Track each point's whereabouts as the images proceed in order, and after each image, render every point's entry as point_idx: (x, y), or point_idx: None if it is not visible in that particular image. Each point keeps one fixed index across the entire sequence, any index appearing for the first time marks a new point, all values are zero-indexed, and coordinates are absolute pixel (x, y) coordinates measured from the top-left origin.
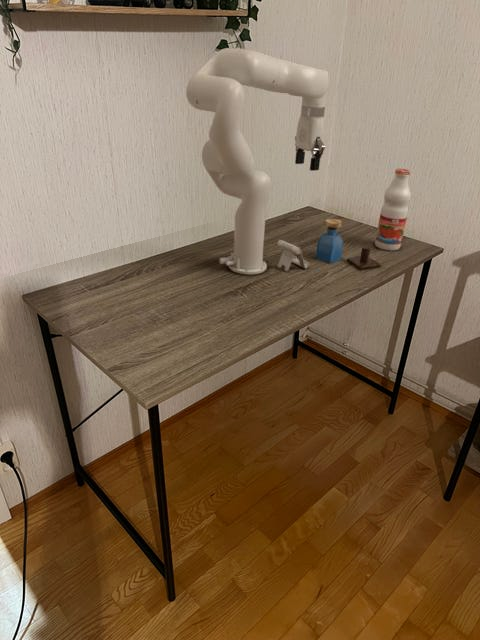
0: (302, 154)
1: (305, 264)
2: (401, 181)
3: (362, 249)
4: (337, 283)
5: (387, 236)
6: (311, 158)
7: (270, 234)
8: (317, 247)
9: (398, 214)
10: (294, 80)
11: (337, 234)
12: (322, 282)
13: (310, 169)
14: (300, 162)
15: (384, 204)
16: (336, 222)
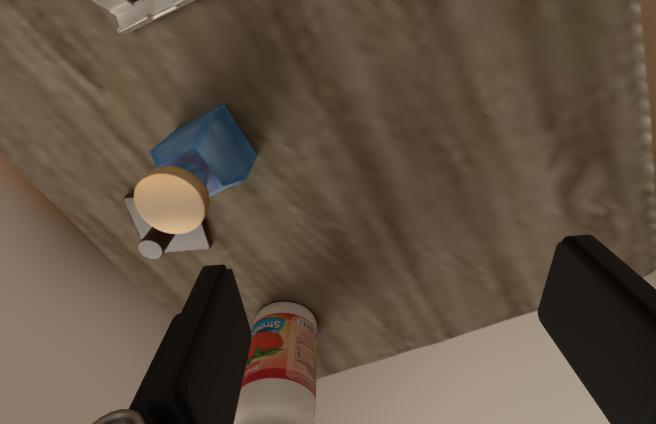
0: (616, 391)
1: (125, 21)
2: None
3: (149, 236)
4: (12, 79)
5: (254, 337)
6: (153, 391)
7: (489, 26)
8: (212, 114)
9: None
10: None
11: None
12: (9, 29)
13: (206, 269)
14: (554, 291)
15: (279, 415)
16: (149, 207)
